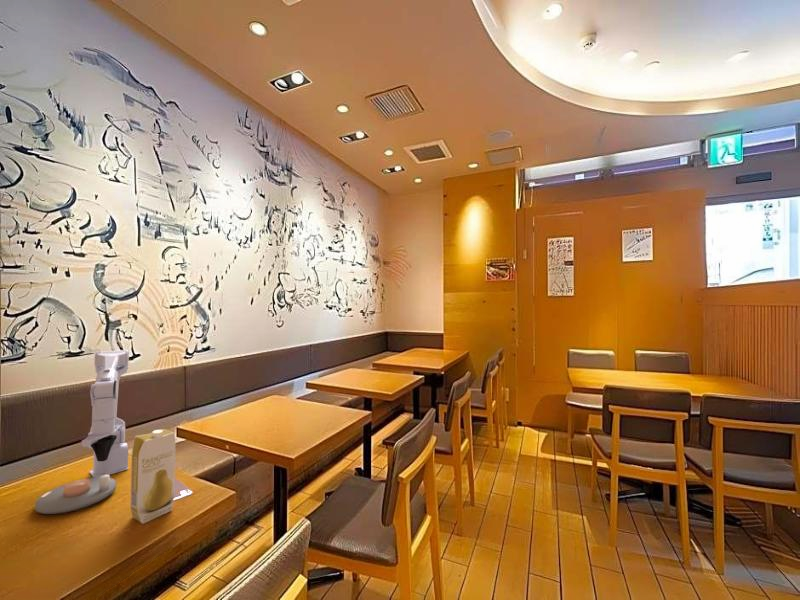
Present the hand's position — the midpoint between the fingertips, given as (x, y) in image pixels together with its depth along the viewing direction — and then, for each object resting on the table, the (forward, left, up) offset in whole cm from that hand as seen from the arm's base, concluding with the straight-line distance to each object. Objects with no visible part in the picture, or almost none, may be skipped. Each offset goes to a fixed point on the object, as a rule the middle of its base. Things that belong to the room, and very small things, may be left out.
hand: (102, 460), depth 111 cm
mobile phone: (-14, +18, -10) cm, 25 cm away
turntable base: (+6, +2, -9) cm, 11 cm away
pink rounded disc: (+6, +2, -7) cm, 10 cm away
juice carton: (-6, +28, -10) cm, 30 cm away
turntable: (+6, +2, -8) cm, 10 cm away
